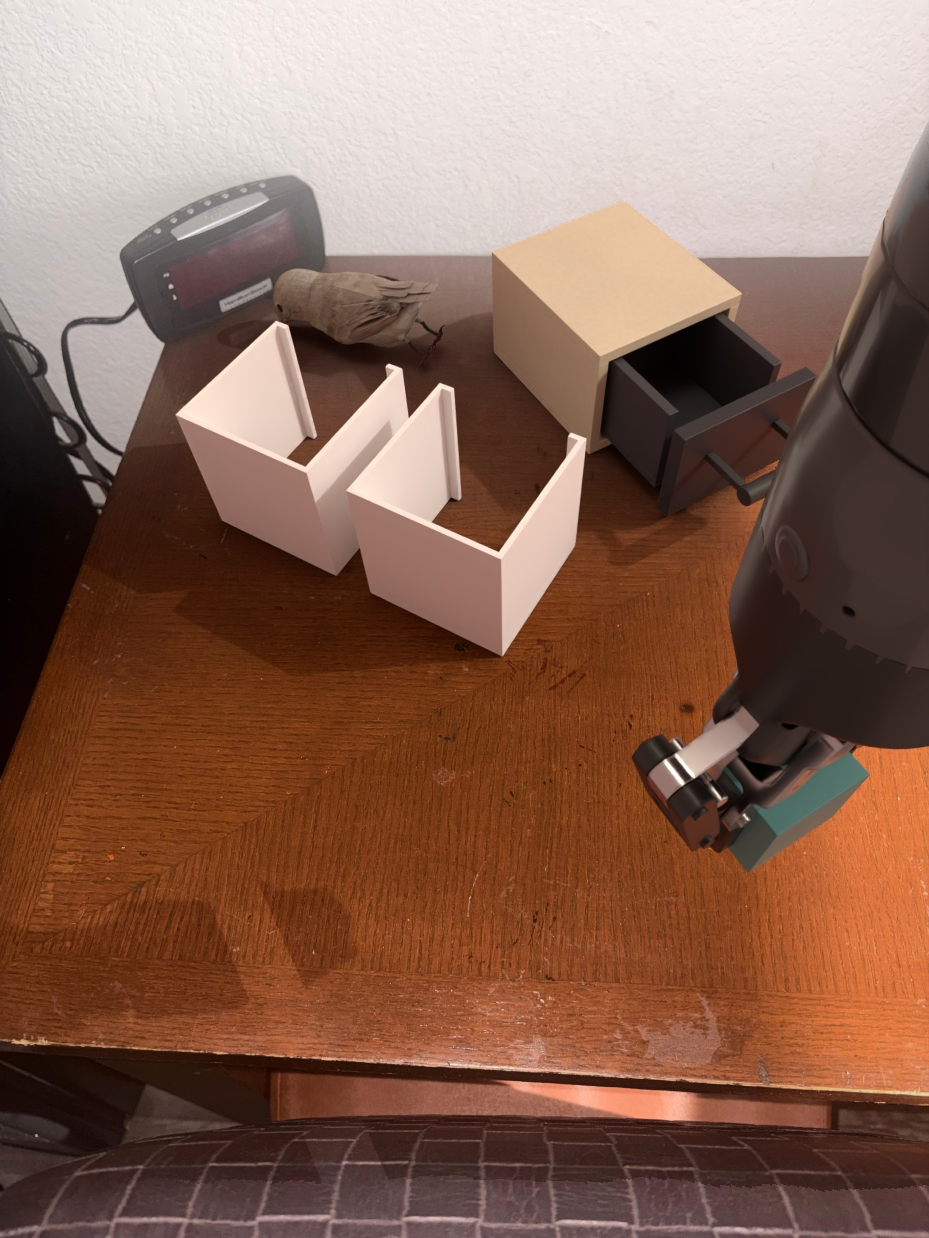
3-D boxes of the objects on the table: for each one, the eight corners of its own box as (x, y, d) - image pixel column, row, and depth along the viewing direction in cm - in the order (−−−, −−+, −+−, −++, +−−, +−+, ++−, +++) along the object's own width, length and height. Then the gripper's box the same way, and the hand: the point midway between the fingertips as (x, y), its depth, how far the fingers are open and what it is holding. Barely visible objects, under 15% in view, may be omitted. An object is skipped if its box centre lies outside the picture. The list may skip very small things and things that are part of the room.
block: (758, 732, 36) (786, 683, 33) (832, 817, 34) (871, 773, 30) (676, 783, 35) (695, 737, 32) (747, 873, 33) (776, 836, 29)
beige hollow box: (715, 395, 71) (742, 293, 63) (588, 455, 68) (599, 356, 60) (611, 302, 78) (624, 200, 70) (493, 352, 75) (491, 251, 67)
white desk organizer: (221, 520, 66) (175, 414, 56) (306, 431, 71) (276, 320, 61) (502, 656, 58) (501, 559, 49) (575, 545, 63) (586, 438, 54)
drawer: (832, 496, 63) (869, 417, 56) (708, 562, 60) (733, 487, 54) (677, 357, 72) (694, 276, 66) (563, 409, 69) (569, 329, 63)
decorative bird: (296, 306, 80) (278, 233, 74) (453, 342, 76) (448, 268, 70) (268, 341, 77) (247, 269, 71) (429, 381, 73) (422, 308, 67)
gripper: (810, 809, 17) (673, 978, 31) (1268, 507, 20) (954, 784, 34) (588, 553, 20) (557, 810, 35) (1007, 336, 24) (822, 650, 38)
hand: (756, 796), depth 34 cm, fingers closed on block, 4 cm apart
